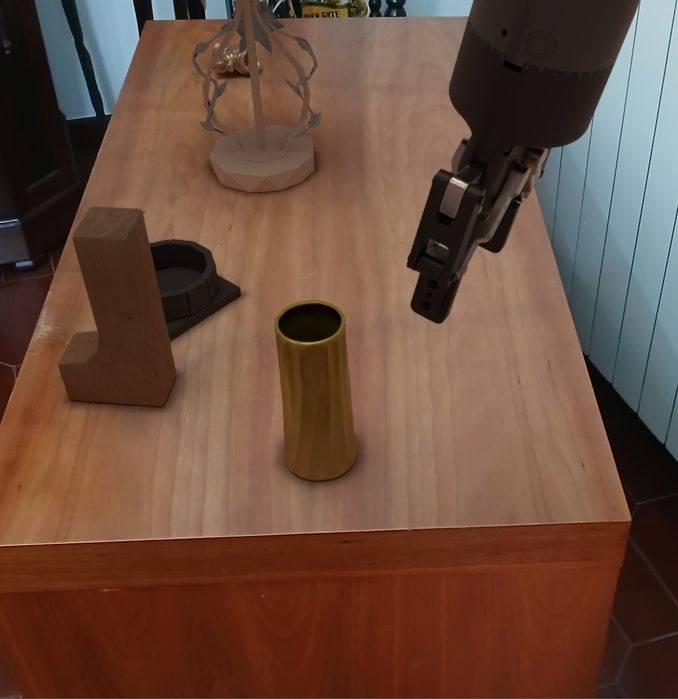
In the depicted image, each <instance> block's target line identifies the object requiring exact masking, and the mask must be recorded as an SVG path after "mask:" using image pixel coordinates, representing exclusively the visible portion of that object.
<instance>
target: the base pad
mask: <svg viewBox="0 0 678 699" xmlns="http://www.w3.org/2000/svg"><path fill="white" fill-rule="evenodd" d="M149 244H150V249H151V254H152V259H153V263H154V268H155V273H156V278H157V283H158V287H159V292H160V297H161V302H162V306H163V311H164V316H165V320H166V325H167V330H168V335H169V339H170V342H171V341H172V340H174V339H175V338H177V337H179V336H181V334H184V333H185V332H186V331H188V330H189V329H191V328H192V327H194V326H196V325H197V324H199V323H200V322H202V321H203V320H205V319H206V318H208V317H209V316H211V315H213V314H214V313H216V312H217V311H218V310H220V309H222V308H223V307H225V306H227V305H228V304H230V303H231V302H233V301H234V300H236V299H238V298H239V297H240V296H242V292H241V287H240V286H238V285H236V284H235V283H233V282H231V281H230V280H228V279H226V278H224V277H223V276H221V275H219V274H218V271H217V265H216V262H215V261H216V260H215V257H214V256H213V252H212V251H211V250H210V249H209V248H208V247H205V246H204V245H202V244H200V243H198V242H197V241H193V240H187V239H177V238H170V239H169V238H168V239H167V238H166V239H162V240H157V241H153V242H149Z"/></svg>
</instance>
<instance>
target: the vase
mask: <svg viewBox="0 0 678 699" xmlns="http://www.w3.org/2000/svg"><path fill="white" fill-rule="evenodd" d="M273 323H274V326H273V328H274V334H275V342H276V351H277V353H276V354H277V362H278V370H279V384H280V392H281V393H280V394H281V403H282V404H281V405H282V420H283V421H282V425H283V426H282V427H283V436H284V437H283V440H284V446H283V460H284V463H285V465H286V466H287V468H288V469H289V471H290V472H292V473H293V474H295V475H296V476H298V477H299V478H302V479H305V480H308V481H315V482H316V481H319V482H320V481H327V480H332V479H336V478H338V477H340V476H342V475H344V474H345V473H346V472H348V471H349V470H350V469H351V468H352V467H353V465H354V464H355V462H356V460H357V456H358V445H357V443H356V440H355V422H354V411H353V401H352V389H351V388H352V387H351V379H350V378H351V376H350V368H349V367H350V366H349V354H348V344H347V331H346V329H347V328H346V327H347V326H346V316H345V314H344V312H343V311H342V309H340V307H338V306H337V305H335V304H333V303H330V302H328V301H326V300H325V301H324V300H320V299H308V300H300V301H298V302H294V303H291V304H288V305H287V306H285V307H284V308H283V309H281V310H280V312H279V313H278V314H277V315H276V316H275V318H274V322H273Z"/></svg>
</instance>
